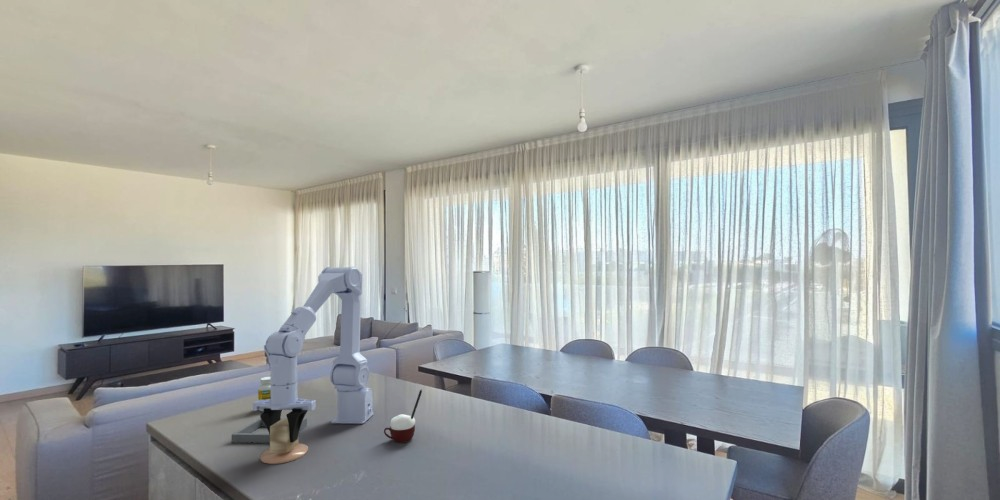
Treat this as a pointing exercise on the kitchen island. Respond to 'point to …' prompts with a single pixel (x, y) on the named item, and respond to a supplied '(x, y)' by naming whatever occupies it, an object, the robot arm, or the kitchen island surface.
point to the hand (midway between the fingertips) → (284, 440)
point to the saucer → (284, 455)
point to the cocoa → (403, 426)
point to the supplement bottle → (264, 389)
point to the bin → (246, 435)
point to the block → (281, 437)
